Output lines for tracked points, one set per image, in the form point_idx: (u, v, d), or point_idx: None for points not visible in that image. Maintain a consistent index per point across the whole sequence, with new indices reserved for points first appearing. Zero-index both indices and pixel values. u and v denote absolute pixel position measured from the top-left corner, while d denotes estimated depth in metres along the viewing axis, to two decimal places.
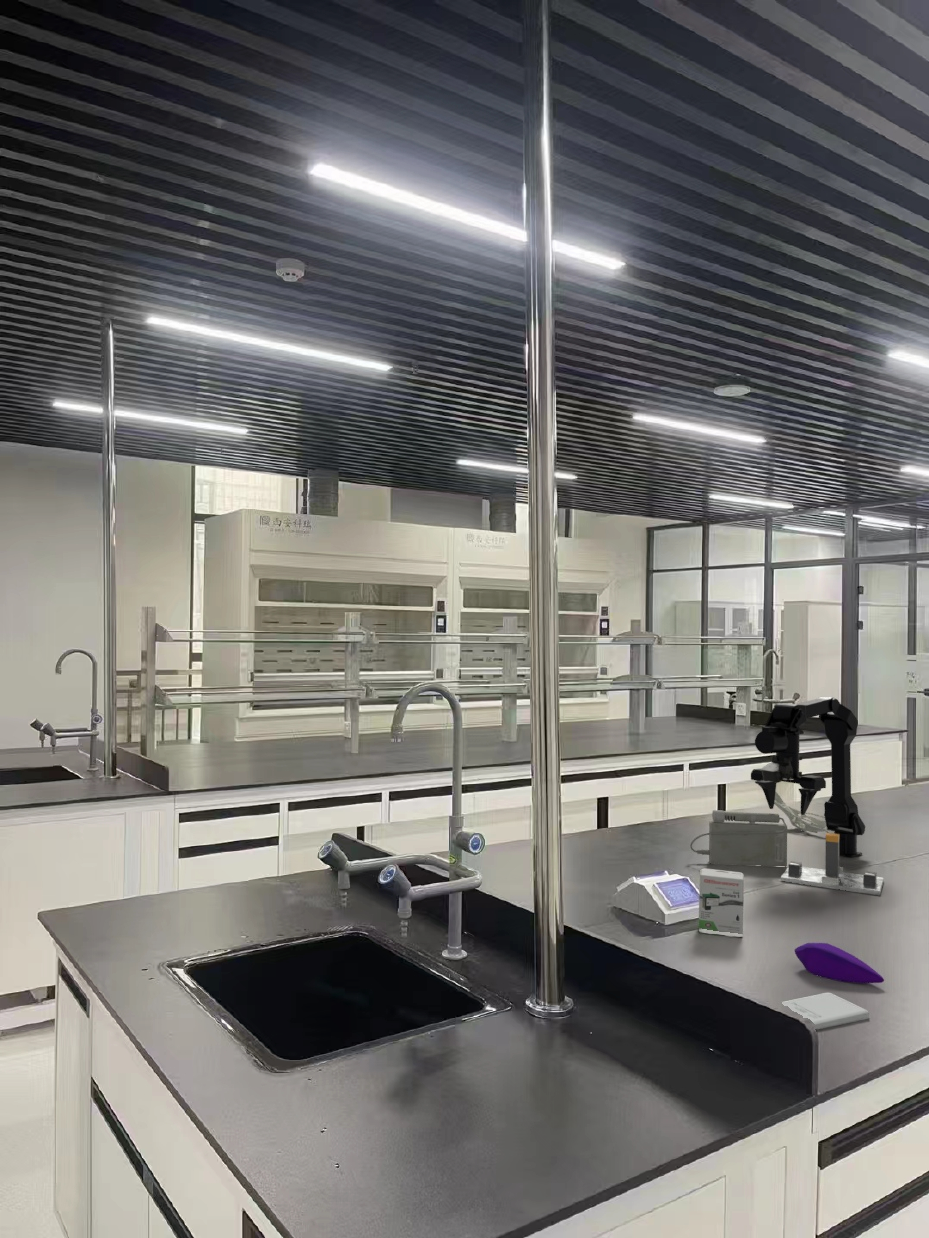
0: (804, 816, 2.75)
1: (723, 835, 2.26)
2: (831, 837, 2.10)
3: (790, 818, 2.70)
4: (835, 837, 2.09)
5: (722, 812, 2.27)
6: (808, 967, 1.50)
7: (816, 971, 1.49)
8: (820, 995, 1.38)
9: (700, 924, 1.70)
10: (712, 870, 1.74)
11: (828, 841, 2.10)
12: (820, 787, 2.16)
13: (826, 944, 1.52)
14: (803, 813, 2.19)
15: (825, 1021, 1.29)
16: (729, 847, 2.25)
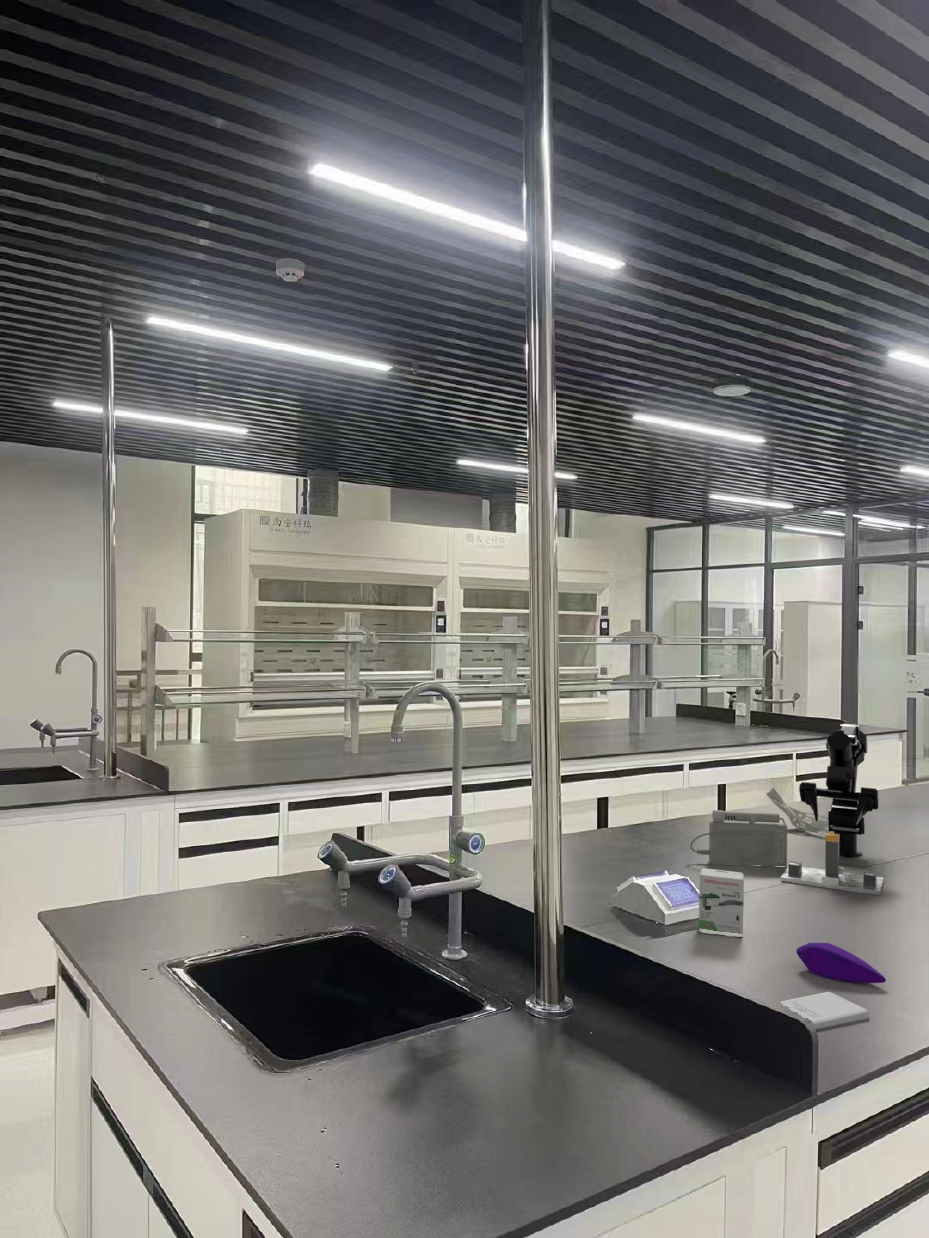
0: (804, 816, 2.75)
1: (723, 835, 2.26)
2: (831, 837, 2.10)
3: (790, 818, 2.70)
4: (835, 837, 2.09)
5: (722, 812, 2.27)
6: (810, 967, 1.50)
7: (818, 971, 1.49)
8: (820, 994, 1.38)
9: (700, 924, 1.70)
10: (712, 870, 1.74)
11: (828, 841, 2.10)
12: (877, 801, 2.18)
13: (828, 944, 1.51)
14: (856, 822, 2.16)
15: (824, 1021, 1.29)
16: (729, 847, 2.25)
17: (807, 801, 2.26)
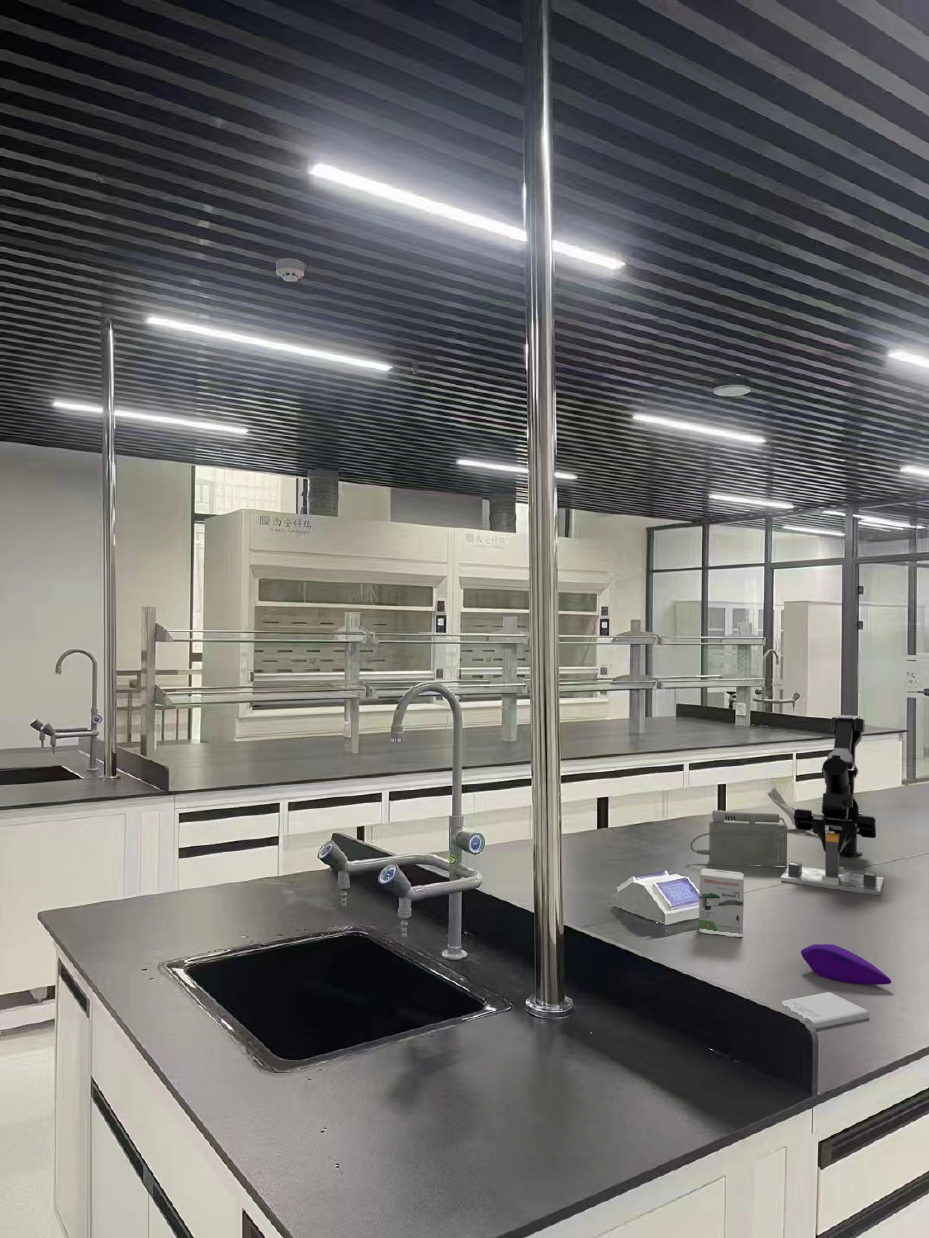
0: None
1: (723, 835, 2.26)
2: (831, 837, 2.10)
3: (791, 818, 2.70)
4: (835, 837, 2.09)
5: (722, 812, 2.27)
6: (815, 969, 1.49)
7: (823, 973, 1.48)
8: (820, 995, 1.38)
9: (700, 924, 1.70)
10: (712, 870, 1.74)
11: (828, 841, 2.10)
12: (875, 830, 2.10)
13: (833, 945, 1.51)
14: (840, 850, 2.09)
15: (824, 1021, 1.29)
16: (729, 847, 2.25)
17: (815, 830, 2.17)
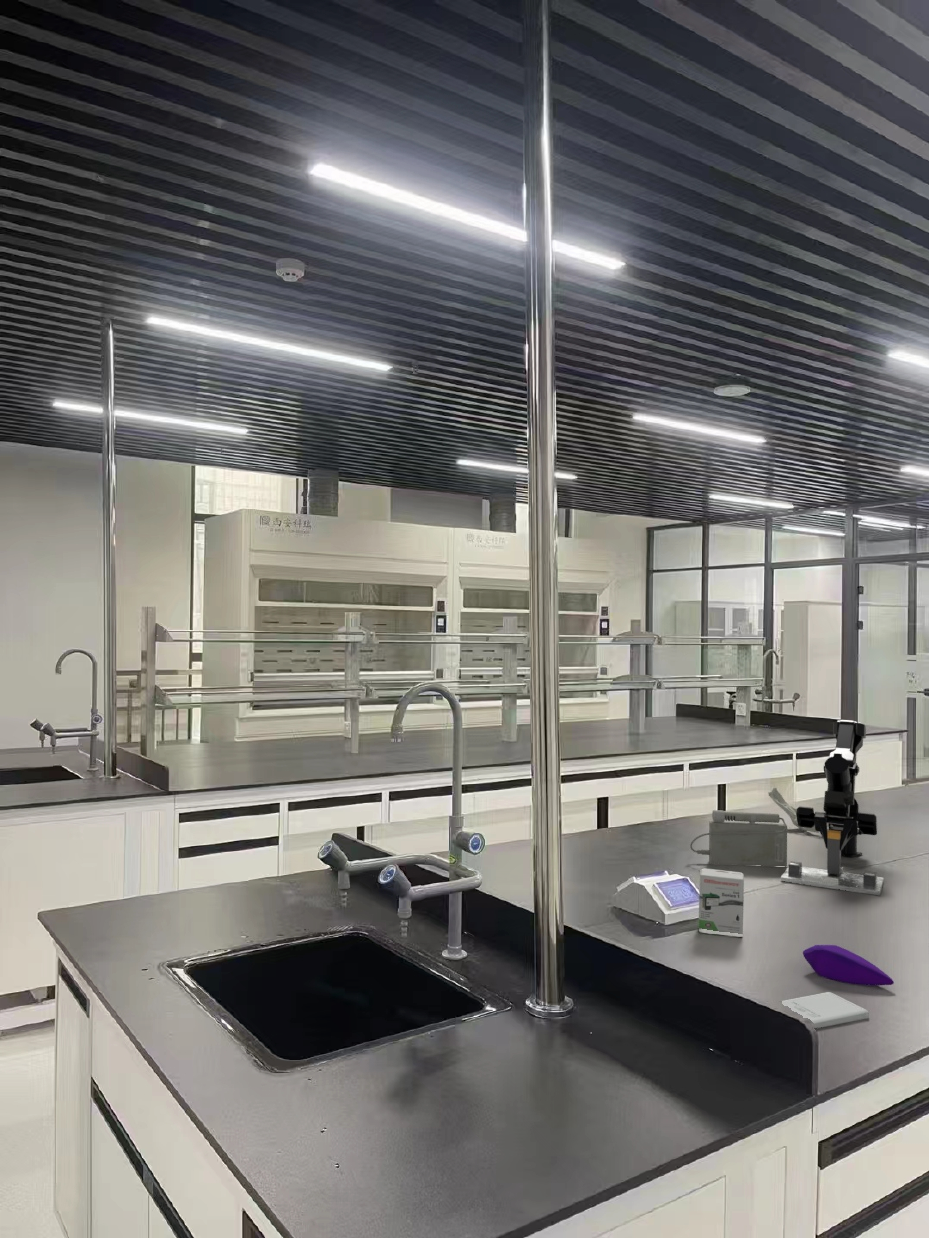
0: None
1: (723, 835, 2.26)
2: (833, 834, 2.13)
3: (792, 818, 2.71)
4: (837, 834, 2.13)
5: (722, 812, 2.27)
6: (817, 969, 1.49)
7: (825, 973, 1.48)
8: (820, 995, 1.38)
9: (700, 924, 1.70)
10: (712, 870, 1.74)
11: (830, 838, 2.13)
12: (876, 827, 2.14)
13: (835, 946, 1.50)
14: (841, 847, 2.12)
15: (824, 1021, 1.29)
16: (729, 847, 2.25)
17: (817, 828, 2.20)
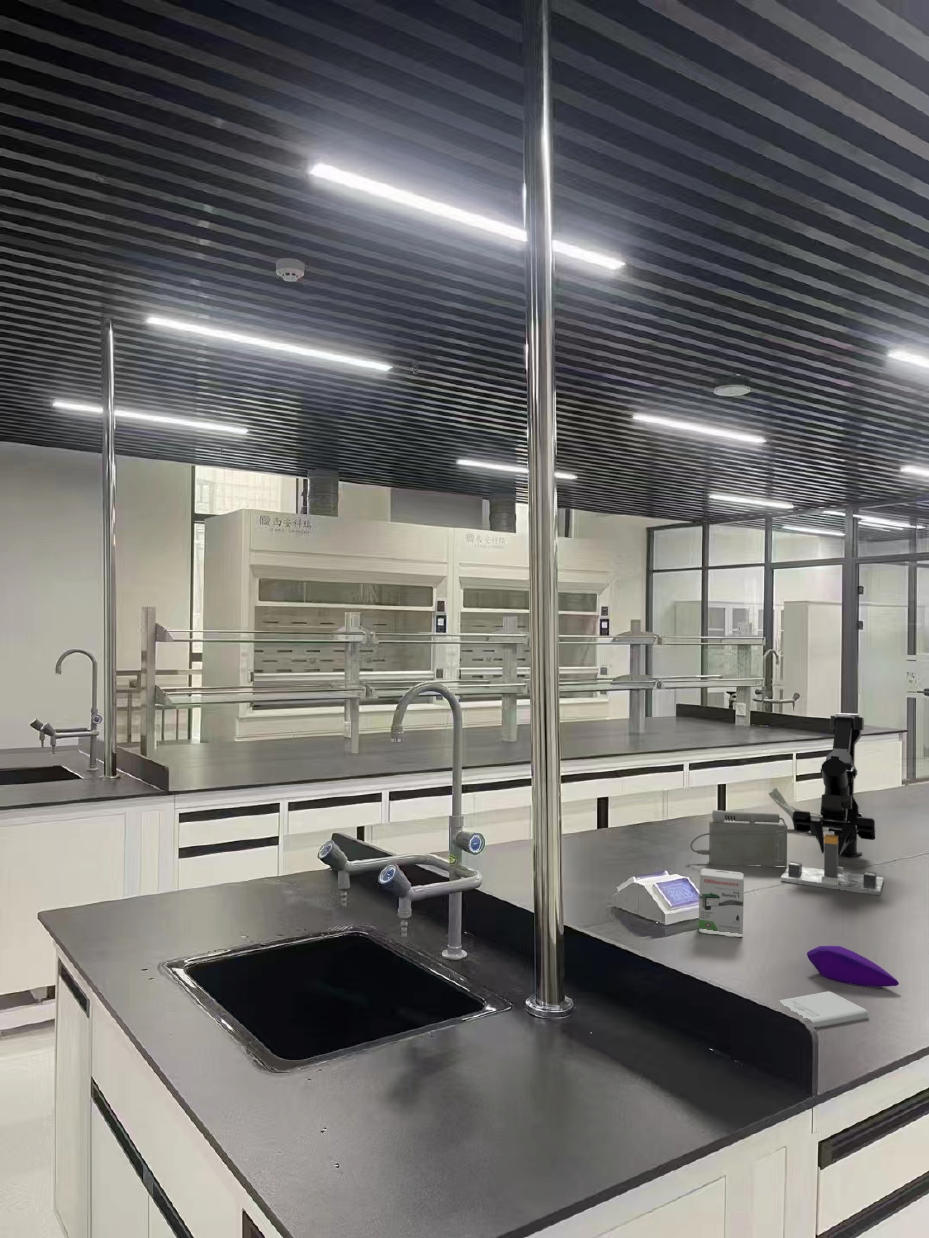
0: None
1: (723, 835, 2.26)
2: (830, 839, 2.08)
3: None
4: (834, 839, 2.07)
5: (722, 812, 2.27)
6: (821, 971, 1.48)
7: (830, 975, 1.47)
8: (820, 994, 1.38)
9: (700, 924, 1.70)
10: (712, 870, 1.74)
11: (827, 843, 2.08)
12: (874, 832, 2.08)
13: (839, 947, 1.50)
14: (840, 853, 2.07)
15: (823, 1020, 1.29)
16: (729, 847, 2.25)
17: (813, 832, 2.15)
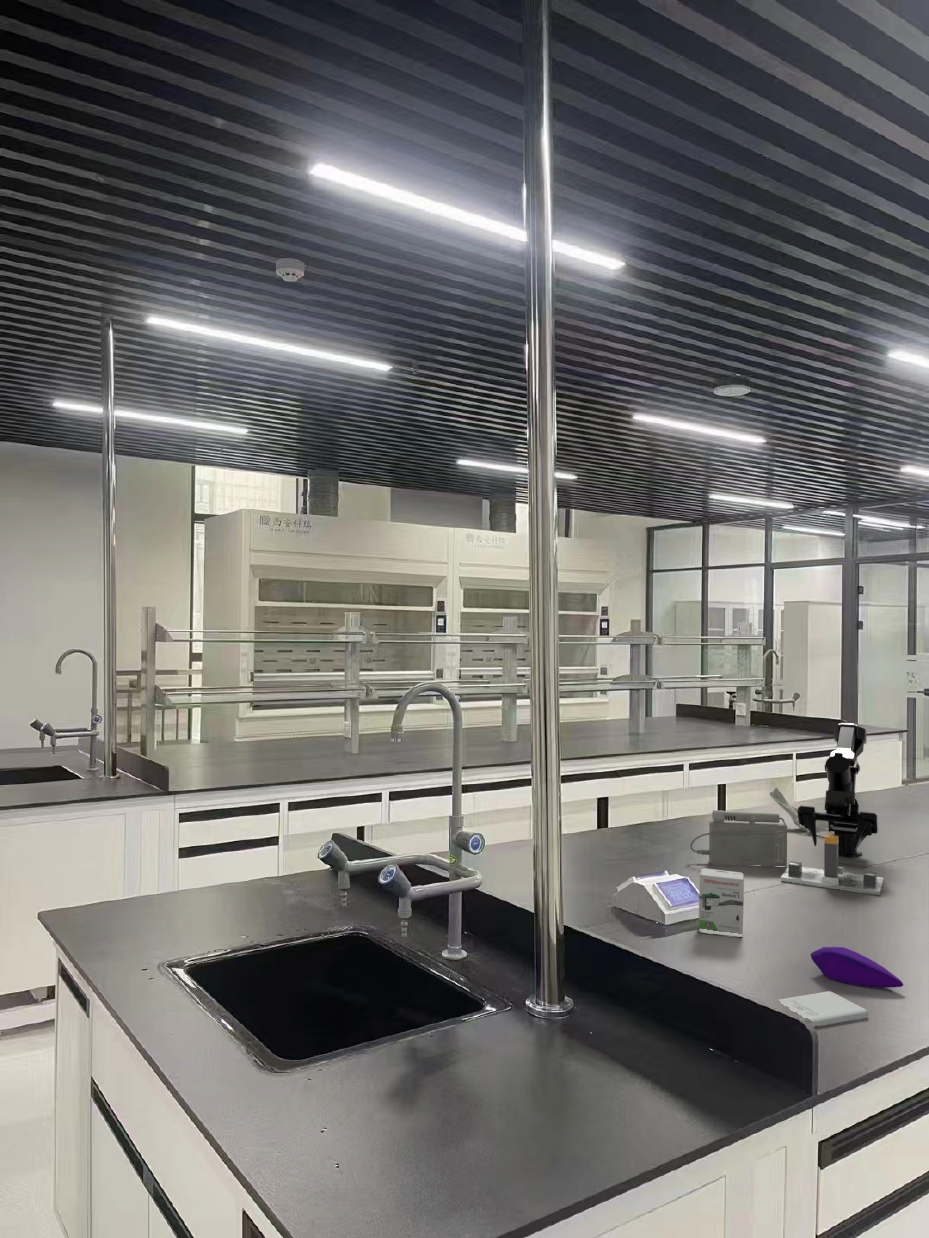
0: None
1: (723, 835, 2.26)
2: (830, 839, 2.08)
3: (793, 818, 2.71)
4: (834, 839, 2.07)
5: (722, 812, 2.27)
6: (825, 972, 1.48)
7: (834, 976, 1.47)
8: (820, 994, 1.39)
9: (700, 924, 1.70)
10: (712, 870, 1.74)
11: (827, 843, 2.08)
12: (877, 826, 2.16)
13: (843, 948, 1.49)
14: (855, 848, 2.13)
15: (821, 1019, 1.29)
16: (729, 847, 2.25)
17: (806, 825, 2.24)
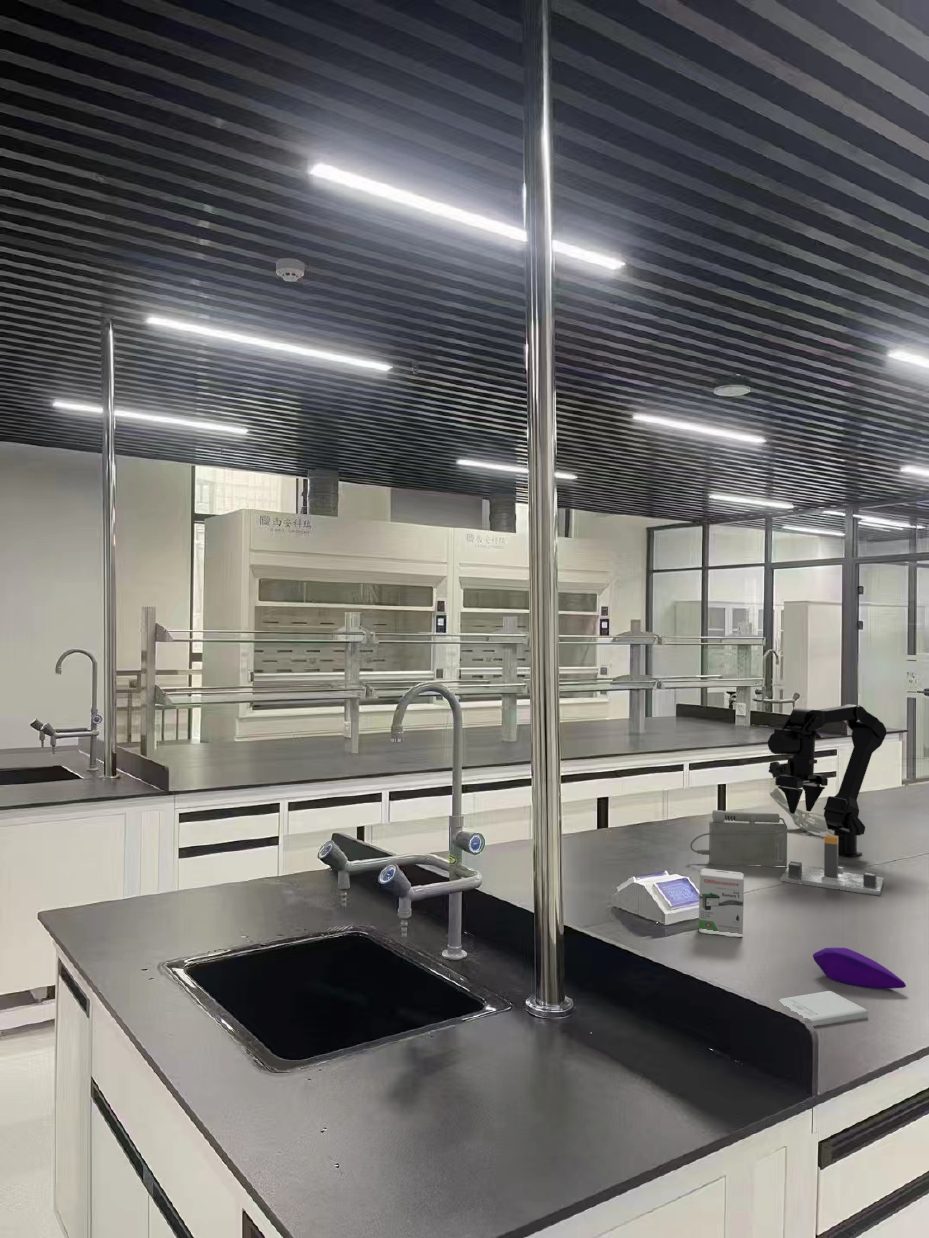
0: (808, 816, 2.75)
1: (723, 835, 2.26)
2: (830, 839, 2.08)
3: (793, 818, 2.70)
4: (834, 839, 2.07)
5: (722, 812, 2.27)
6: (828, 973, 1.48)
7: (836, 977, 1.47)
8: (820, 993, 1.39)
9: (700, 924, 1.70)
10: (712, 870, 1.74)
11: (827, 843, 2.08)
12: (785, 785, 2.27)
13: (845, 949, 1.49)
14: (791, 811, 2.30)
15: (820, 1019, 1.30)
16: (729, 847, 2.25)
17: None
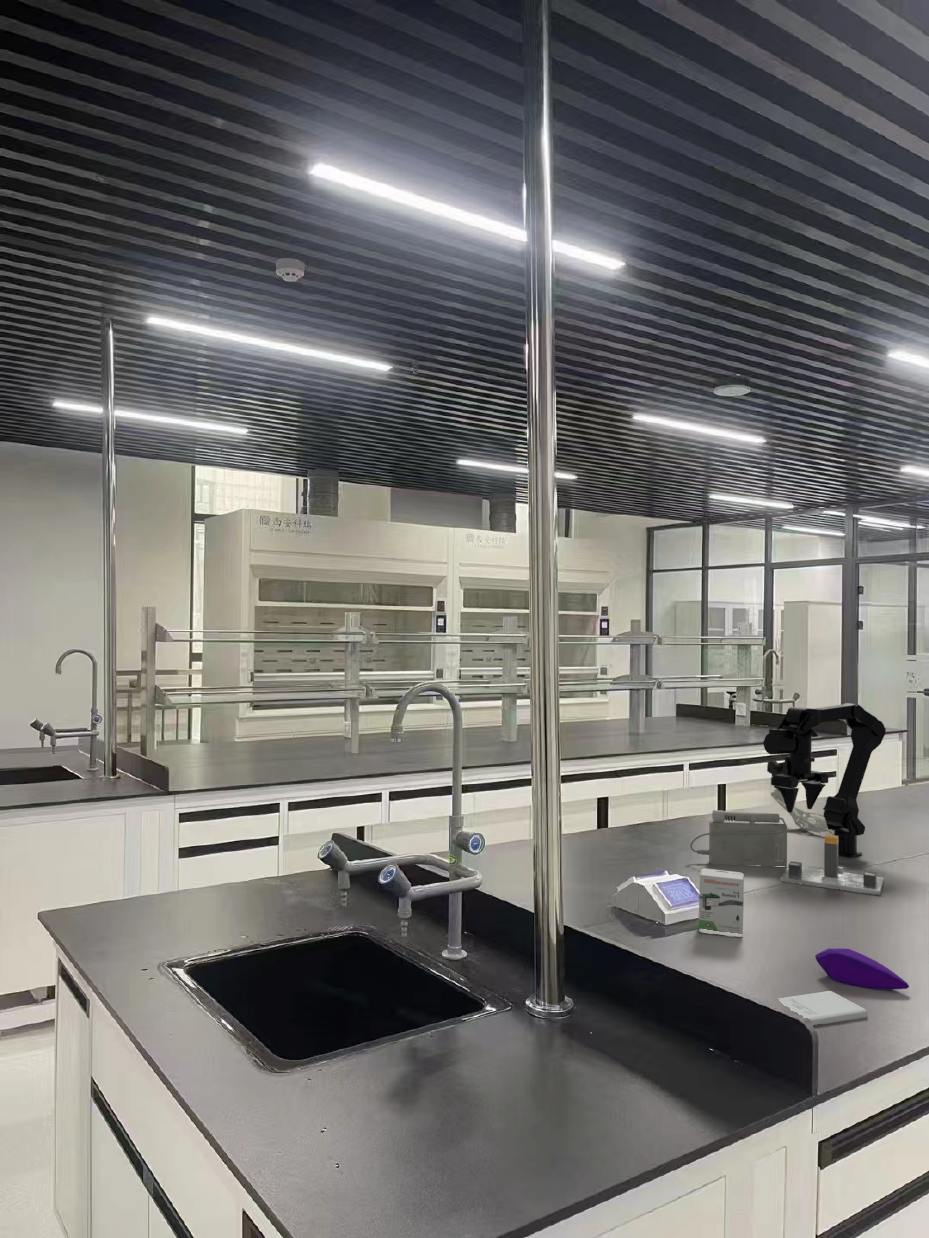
0: (809, 816, 2.75)
1: (723, 835, 2.26)
2: (830, 839, 2.08)
3: (794, 818, 2.71)
4: (834, 839, 2.07)
5: (722, 812, 2.27)
6: (830, 973, 1.47)
7: (839, 978, 1.46)
8: (820, 993, 1.39)
9: (700, 924, 1.70)
10: (712, 870, 1.74)
11: (827, 843, 2.08)
12: (780, 785, 2.29)
13: (848, 950, 1.49)
14: (788, 810, 2.31)
15: (820, 1018, 1.30)
16: (729, 847, 2.25)
17: None
